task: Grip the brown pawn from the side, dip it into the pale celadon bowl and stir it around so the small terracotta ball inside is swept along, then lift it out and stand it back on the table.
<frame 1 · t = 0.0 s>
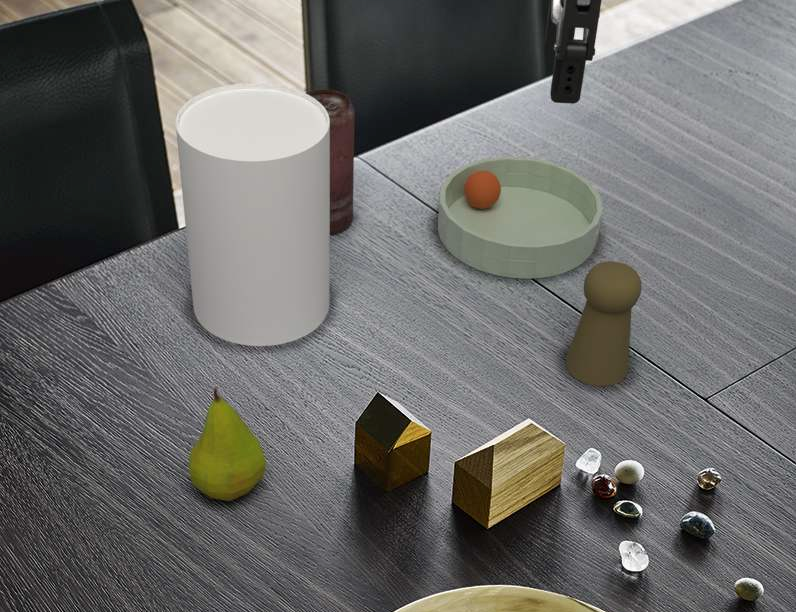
hand: (561, 73, 97), 30 cm above the table, tool pointing down, fingers open, 8 cm apart
canister: (261, 304, 125), on the table
brown pawn: (596, 367, 121), on the table
ball: (482, 189, 137), point 2 cm above the table, touching bowl
fruit: (228, 490, 107), on the table
bowl: (516, 231, 136), on the table
can: (323, 222, 136), on the table
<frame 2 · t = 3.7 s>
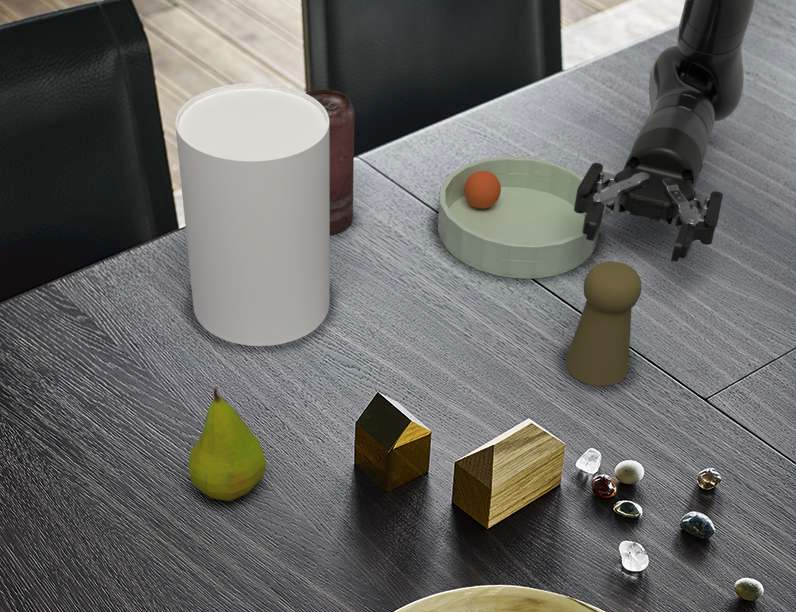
hand: (633, 243, 122), 7 cm above the table, tool horizontal, fingers open, 8 cm apart
nothing on the table moved.
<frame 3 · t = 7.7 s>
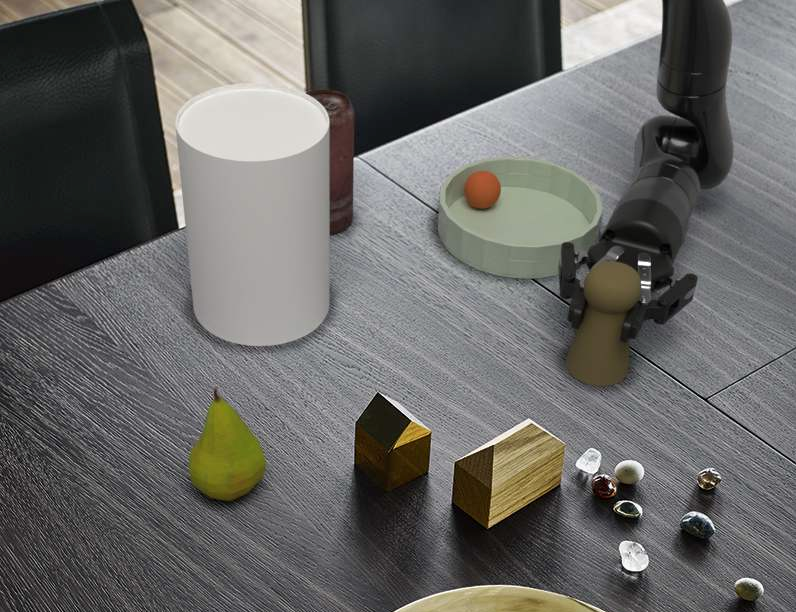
hand: (600, 327, 114), 7 cm above the table, tool horizontal, fingers closed on brown pawn, 4 cm apart
brown pawn: (596, 367, 121), on the table, touching gripper
everything else where it was.
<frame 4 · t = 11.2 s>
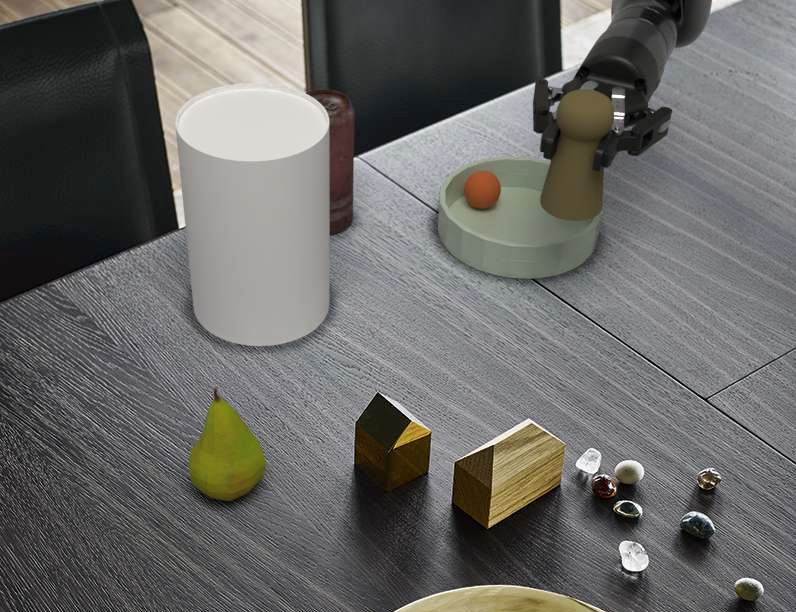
hand: (573, 155, 113), 18 cm above the table, tool horizontal, fingers closed on brown pawn, 4 cm apart
brown pawn: (571, 204, 120), point 11 cm above the table, touching gripper
everything else where it was.
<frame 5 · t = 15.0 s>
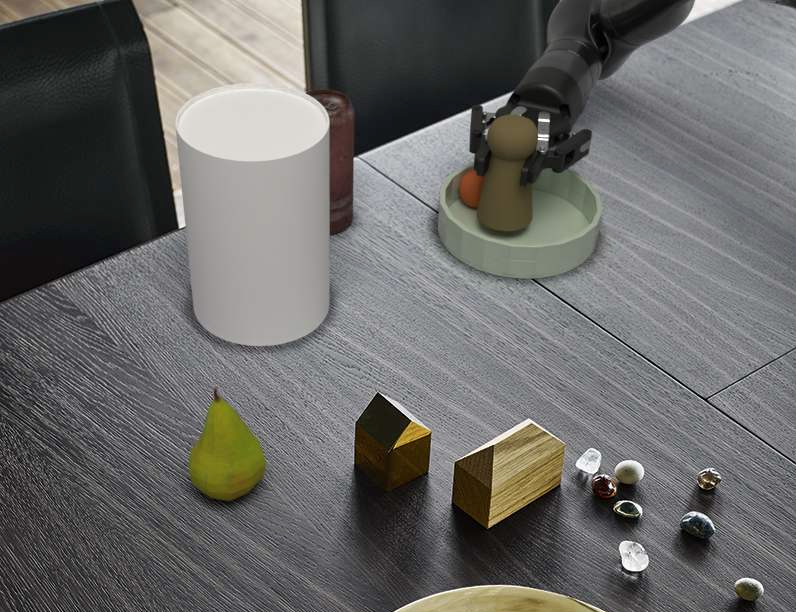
hand: (502, 173, 128), 9 cm above the table, tool horizontal, fingers closed on brown pawn, 4 cm apart
brown pawn: (504, 216, 134), point 2 cm above the table, touching ball, gripper
ball: (477, 188, 137), point 2 cm above the table, tilted 16°, touching bowl, brown pawn
everything else where it was.
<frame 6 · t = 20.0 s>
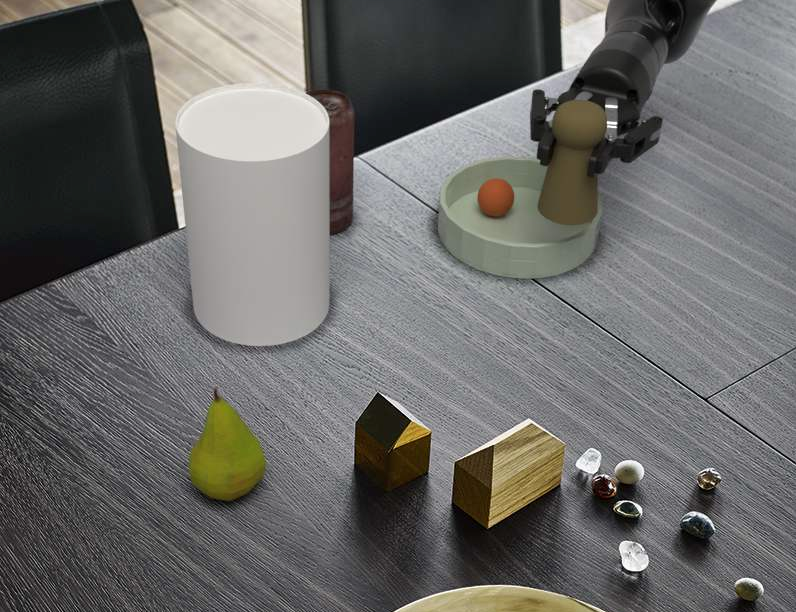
hand: (568, 162, 119), 14 cm above the table, tool horizontal, fingers closed on brown pawn, 4 cm apart
brown pawn: (567, 209, 126), point 8 cm above the table, touching gripper
ball: (495, 197, 136), point 2 cm above the table, tilted 57°, touching bowl
everything else where it was.
when the fingers open (7 cm above the table, at t = 24.1 s): brown pawn stays where it is, on the table.
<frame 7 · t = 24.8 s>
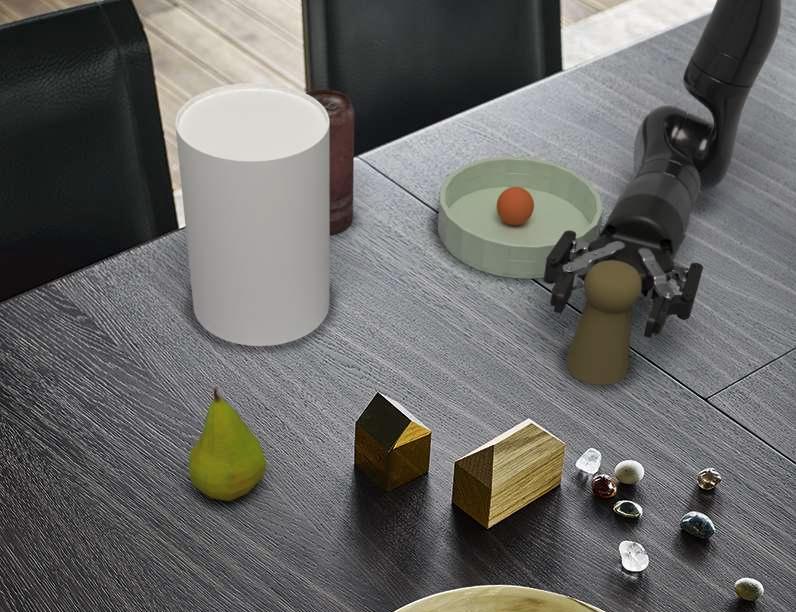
hand: (603, 317, 114), 7 cm above the table, tool horizontal, fingers open, 8 cm apart
brown pawn: (596, 366, 121), on the table
ball: (515, 206, 135), point 2 cm above the table, tilted 130°, touching bowl
everything else where it was.
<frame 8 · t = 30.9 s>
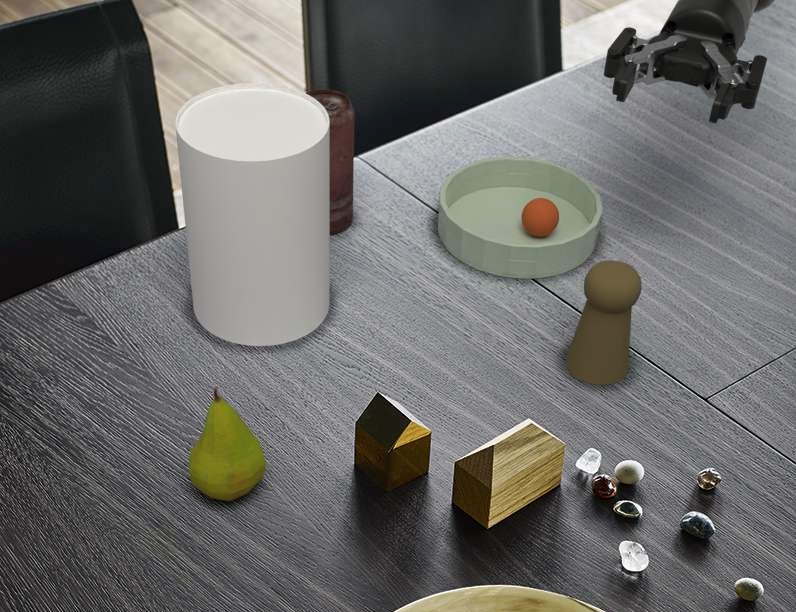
hand: (667, 102, 112), 22 cm above the table, tool horizontal, fingers open, 8 cm apart
ball: (540, 217, 133), point 2 cm above the table, tilted 138°, touching bowl
everything else where it was.
at the end: ball moved 7.7 cm from its start; ball inside the target area in the bowl (2.4 cm from its centre), point 2.5 cm above the bowl's base; brown pawn tilted 0° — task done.
